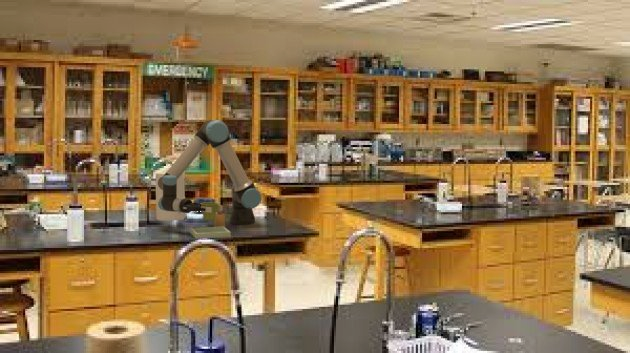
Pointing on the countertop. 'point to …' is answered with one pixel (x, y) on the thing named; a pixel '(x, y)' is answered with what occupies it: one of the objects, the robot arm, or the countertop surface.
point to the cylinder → (171, 215)
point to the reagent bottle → (219, 219)
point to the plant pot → (214, 208)
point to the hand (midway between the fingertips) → (216, 209)
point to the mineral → (203, 200)
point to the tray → (210, 232)
